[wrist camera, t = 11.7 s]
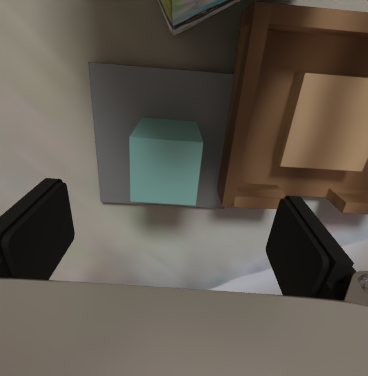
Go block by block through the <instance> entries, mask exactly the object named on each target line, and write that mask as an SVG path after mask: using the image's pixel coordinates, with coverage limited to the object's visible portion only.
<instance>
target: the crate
mask: <svg viewBox="0 0 368 376" xmlns="http://www.w3.org/2000/svg"><path fill="white" fill-rule="evenodd" d="M233 74H234V80H233V87H232V94H231V100H230V107H229V114H228V120H227V127H226V133H225V140H224V147H223V153H222V160H221V167H220V173H219V180H218V186H217V192H218V195H219V198H220V201H221V205H222V206H226V207H245V208H264V209H277V208H278V205H279V201H280V200H281V199H284V197H285V196H286V195H291V196H309V197H326V198H327V199H328V200H329V201H330V202H331V203H332V204H333V205H335V206H336V207H337V208H338V209H339V210H340V211H341V212H342V213H359V214H368V13H367V12H357V11H347V10H337V9H327V8H316V7H306V6H296V5H286V4H275V3H265V2H255V3H254V4H252V5H251V6H250V7H249V8H247V9H246V10H245V11H243V12H242V18H241V24H240V31H239V38H238V45H237V51H236V58H235V65H234V72H233Z"/></svg>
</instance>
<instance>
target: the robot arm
mask: <svg viewBox="0 0 368 376" xmlns="http://www.w3.org/2000/svg"><path fill="white" fill-rule="evenodd" d="M74 234H75V233H74V227H73V220H72V214H71V208H70V202H69V196H68V190H67V185H66V183H63V182H62V180H61V179H51V178H46V179H44V180H43V181H42V182H40V183H39V184H38V185H37V186H36V187H35V188H33V189H32V190H31V191H30V192H29V193H27V194H26V195H25V196H24V197H23V198H22V199H20V200H19V201H18V202H17V203H16V204H14V205H13V206H12V207H11V208H10V209H9V210H7V211H6V212H5V213H4V214H3V215H1V216H0V376H368V271H358V272H356V271H355V270H354V268H353V267H352V266H353V264H354V263H353V262H352V260H351V259H350V258H349V257H348V255H347V254H346V253H345V252H344V250H343V249H342V248H341V247H340V245H339V244H338V243H337V242H336V240H335V239H334V238H333V237H332V235H331V234H330V233H329V232H328V230H327V229H326V228H325V227H324V225H323V224H322V223H321V222H320V220H319V219H318V218H317V217H316V215H315V214H314V213H313V212H312V210H311V209H310V208H309V207H308V205H307V204H306V203H305V202H304V201H303V199H302V198H301V197H298V196H285V197H284V199H281V200H280V201H279V205H278V208H277V211H276V215H275V218H274V222H273V225H272V228H271V232H270V235H269V238H268V242H267V245H266V253H267V256H268V259H269V261H270V264H271V266H272V269H273V271H274V274H275V276H276V279H277V281H278V284H279V286H280V289H281V291H282V294H283V295H271V294H256V293H242V292H227V291H212V290H197V289H181V288H166V287H150V286H135V285H119V284H103V283H87V282H70V281H53V280H49V278H50V276H51V275H52V273H53V272H54V270H55V269H56V267H57V265H58V264H59V262H60V261H61V259H62V257H63V256H64V254H65V253H66V251H67V249H68V248H69V246H70V245H71V243H72V242H73V239H74Z"/></svg>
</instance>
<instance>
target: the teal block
mask: <svg viewBox="0 0 368 376" xmlns="http://www.w3.org/2000/svg"><path fill="white" fill-rule="evenodd" d="M129 146H130V202H146V203H162V204H179V205H195V206H196V199H197V190H198V182H199V174H200V166H201V158H202V149H203V140H202V137H201V134H200V131H199V127H198V124H197V122H194V121H181V120H169V119H156V118H144V117H142V118H141V120H140V121H139V123H138V124H137V126H136V128H135V129H134V131H133V132H132V134H131V135H130V137H129Z"/></svg>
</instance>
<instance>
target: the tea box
mask: <svg viewBox="0 0 368 376" xmlns="http://www.w3.org/2000/svg"><path fill="white" fill-rule="evenodd" d="M239 1H240V0H158V2H159V5H160V7H161V10H162V12H163V15H164V17H165V19H166V22H167V24H168V27H169V29H170V32H171V33H172V35H173V36H174V35H176V34H179V33H181V32H183V31H185V30H187V29H189V28H190V27H192V26H194V25H196V24H198V23H200V22H201V21H203V20H205V19H207V18H209V17H211V16H212V15H214V14H216V13H218V12H220V11H222V10H224V9H225V8H227V7H229V6H231V5H233V4H235V3H237V2H239Z"/></svg>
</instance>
